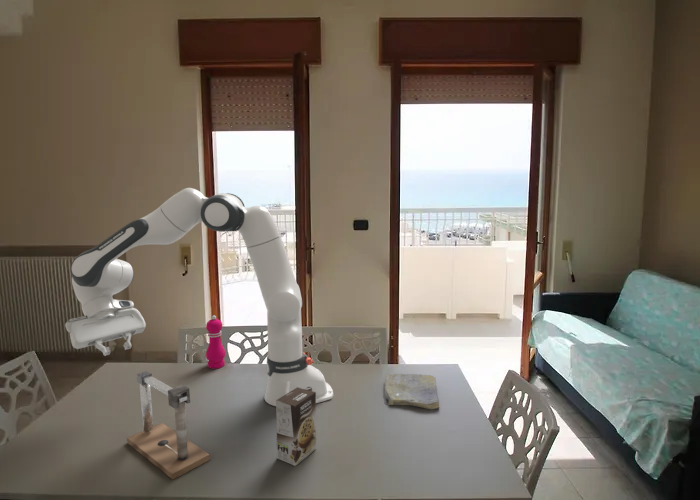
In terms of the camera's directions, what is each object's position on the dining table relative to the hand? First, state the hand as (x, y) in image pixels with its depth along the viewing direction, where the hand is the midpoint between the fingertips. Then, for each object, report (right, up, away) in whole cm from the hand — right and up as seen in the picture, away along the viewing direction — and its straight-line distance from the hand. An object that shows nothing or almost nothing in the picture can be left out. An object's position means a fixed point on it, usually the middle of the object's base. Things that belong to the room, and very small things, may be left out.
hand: (118, 351), depth 132 cm
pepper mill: (+16, -15, +43) cm, 48 cm away
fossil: (+88, -19, +18) cm, 92 cm away
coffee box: (+54, -24, -14) cm, 61 cm away
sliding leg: (+19, -22, -13) cm, 31 cm away
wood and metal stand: (+20, -24, -13) cm, 33 cm away
